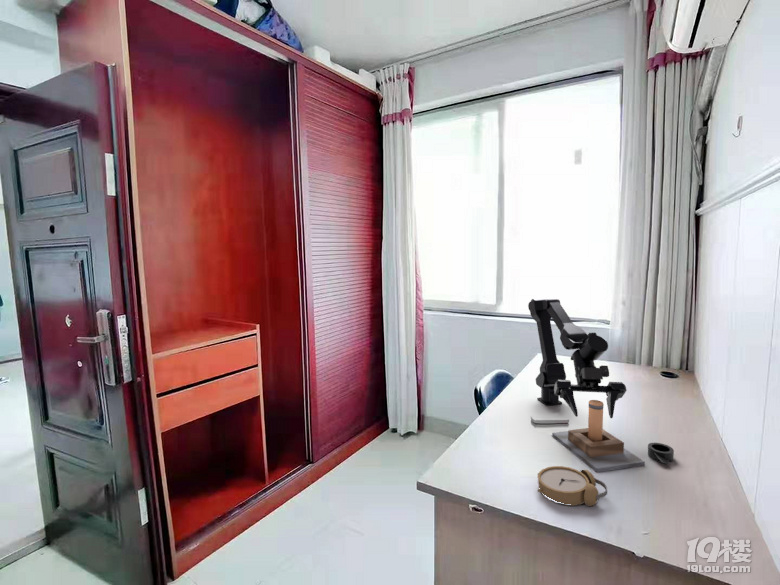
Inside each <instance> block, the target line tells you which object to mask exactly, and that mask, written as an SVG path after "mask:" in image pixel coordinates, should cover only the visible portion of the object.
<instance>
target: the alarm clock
mask: <svg viewBox="0 0 780 585" xmlns="http://www.w3.org/2000/svg"><path fill="white" fill-rule="evenodd" d="M537 481H538V482H537V483H538V489H537V492H538V493H541V492H542V493H543V494H544V495H546V496H547V497H549V498H551V499H553V500H555V501H557V502H561V503H564V504H571V505H570V506H578V505H577V504H579V505H582V504H584V505H586V506H588V505H589V507H592V505H593V506H594V505H596V504H597V502H598V501H600V499H601V498H604V497H606V496H607V495H608V486H607V484H606V483H605V482H603V481H602V480H600V479H597V478H596V477H595V476H594V475H593V473H592V472H591V471H589V470H588V469H581V470H577V469H575V468H572V467H568V466H562V465H560V466H559V465H553V466H548V467H545V468H543V469H541V470H540V471H539V472H538V473H537ZM597 484H598V485H599V486H602V487H603V489H604V490H605V491H603V492H601V493H599V491H598V490H599V489H597V487H596V486H597ZM539 488H540V489H539Z"/></svg>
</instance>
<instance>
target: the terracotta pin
mask: <svg viewBox="0 0 780 585" xmlns="http://www.w3.org/2000/svg"><path fill="white" fill-rule="evenodd" d="M587 418H588V421H587V422H588V424H587V425H588V426H587V428H588V439H589V440H591V441H592V442H598V441H602V431H603V430H604V428H603V427H604V426H603V425H604V402H603V401H600V400H597V399H591V400H589V401H588V417H587Z"/></svg>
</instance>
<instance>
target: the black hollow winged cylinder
mask: <svg viewBox="0 0 780 585" xmlns="http://www.w3.org/2000/svg"><path fill="white" fill-rule="evenodd" d="M674 455H675V450H674V448H673V447H671V446H670V445H667V444H664V443H661V442H650V443H648V445H647V456H648V457H649V458H650V459H651V460H653V461H656V462H658V463H663V464H664V465H669V466H671V463H673V462H674V460H675V458H674Z"/></svg>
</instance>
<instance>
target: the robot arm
mask: <svg viewBox="0 0 780 585" xmlns="http://www.w3.org/2000/svg"><path fill="white" fill-rule="evenodd" d="M527 307H528V310H529V313H530V317H531V318H533V320H534V321H535V323H536V326H537V327H536V329H537V333H538V338H539V339H538V340H539V344H540V351H541V357H542V361H541V364H540V366H539V374H538V375H537V376H536V378H535V383H536V386H538V387H539V388H540V389H541V391H540V392H541V393H540V394H541V395H540V397H537V401H540V402H541V403H542V404H543V405H545V406H555V405H562V404H563V401H561V400H560V399H563V400H564V402H565V403H566V404H567V405H568V406H569V408H570V410H571V412H572V413H573V415H574V416H575V417H578V416H579V415H578V409H577V404H576V400H575V396H574V392H580V393H581V392H584V393H585V392H586V393H587V392H588V393H603V394H604V393H605V395H606V399H605V400H606V406H607V410H608V414H609V418H610V419H613V418H614V412H615V411H614V410H615V405H616V402H617V401H618V400H619V399H622V398H623V396H625V394H626V392H627V386H626V385H625V383H623V382H622V381H609V382H608V384H607V385H600V384H601V382H602V380H604V378H609V376H610V371H609V370H610V369H609V366H608V365H599V367H597V366H596V365H595V361H597V360H598V359H600V358H601V356H602V355H603V354H604V353H605V352H606V351H607V350H608V349H609V343H608V341H607V340H605V339H604V338H603V337H602V336H600V335H597V333H596V332H588V333H587V332H586V331H585V330H584V329H583V328H582V327H580V326H578V325H576V324H575V323H574V322H573V321H572V319H571V317H570V316H569V315H568V314H567V312H566V310H565V309H564V307H563V306H562V304H561V300H560V299H559V298H557V297H556V298H554V297H553V298H551V297H550V298H548V297H546V298H532V299H531V300H530V301H529V302H528V304H527ZM551 320H552V321H553V322H554V324H555V326H556V327H557V329H558V330H559V332H560V337H559V340H560V342H561V345H562V346H563V348H564V349H565V350H574V351H573V353H572V354H571V357H570V361H573V366H574V373H575V374H574V376H575V378H576V384H572V383H571V382H572V381H571V380H569V379H567V374H566V371H565V370H566V369H565V364H564V363H563V362H560V361H559V359H558V358H557V352H556V346H555V345H556V344H555V339H554V335H553V330H552V323H551Z"/></svg>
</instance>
